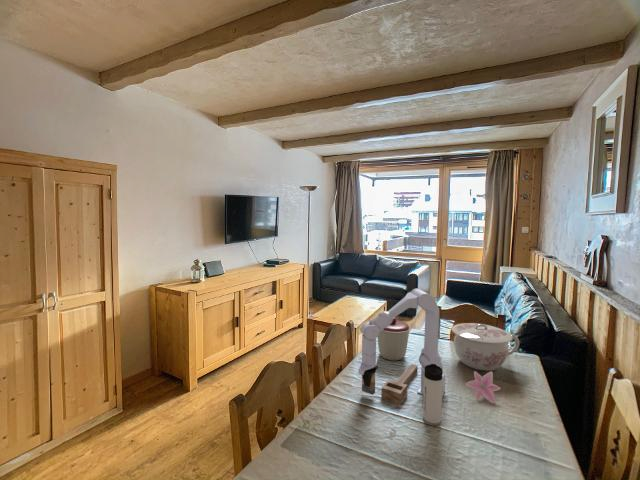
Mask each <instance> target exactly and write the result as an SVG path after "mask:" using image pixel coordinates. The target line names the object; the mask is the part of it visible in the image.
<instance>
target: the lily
mask: <svg viewBox="0 0 640 480" xmlns="http://www.w3.org/2000/svg"><path fill="white" fill-rule="evenodd" d="M473 375H474V379H472V380H470V381H467V382H465V385H466V386H467V387H469V388H470V389H473V390H474V391H475V400H476V401H478V400H479V399H481V398H483V397H485V398H486V399H487V400H488V401H489V402H491V403H492V404H494V403H495V404H496V397H495V393H494V392H496V391H500V390H501V387H500V386H498V385H497V384H495V383H493V380H494V373H493V371H489V372H487V373H486V374H484V375H481V374H479V373H478V372H477V371H475V370H474V371H473Z"/></svg>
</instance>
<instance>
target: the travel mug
mask: <svg viewBox="0 0 640 480" xmlns="http://www.w3.org/2000/svg"><path fill="white" fill-rule="evenodd" d="M443 371H444V369H442V368H440V367H439V366H437V365H436V364H431V365H427V366H425V373H424V395H423V397H422V399H423V402H422V405H423V406H422V420H423V422H424V423H425V424H426V425H430V426H433V427H436V426H439V425H441V423H442V407H443V406H442V405H443V404H442V401H443V400H442V399H443V396H442V379H443V378H442V375H444V374H443Z"/></svg>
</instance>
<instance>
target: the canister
mask: <svg viewBox="0 0 640 480" xmlns="http://www.w3.org/2000/svg"><path fill="white" fill-rule="evenodd" d="M411 329H412V328H411V326H410V324H408V323H406V322H405V321H402V320H398V319H397V317H394V318H393V320H392V323H391V324H390V325H388V326H387V327H386V328H384V329H383V330H382V331H380V332H379V334H378V337H377V345H378V347H377V348H378V353H379V355H380V356H381V357H382V358H383V359H385V360H388V361H394V362H395V361H400V360H402V359H404V358H405V357H406V354H407V347H408V342H409V334H410V331H411Z"/></svg>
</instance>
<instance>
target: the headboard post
mask: <svg viewBox="0 0 640 480" xmlns="http://www.w3.org/2000/svg"><path fill="white" fill-rule="evenodd" d="M417 374H418V365H417V364H414V363H410V365H409V366H408V367H407V368H406V369H405V370H404V372H403V373H402V374H401V375H400V376H399V377H398V379H397V380H392V379H388V380H387V381H386V382H385V383H384V385H383V386H382V387H381V399H383V400H386V401H389V402H392V403H395V404H397V405H402V403H403V402H404V401H405V399H406V398H407V396H408V385H409V384H410V383H411V382H412V381H413V380H414V379H413V378H415V376H416V375H417Z"/></svg>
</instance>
